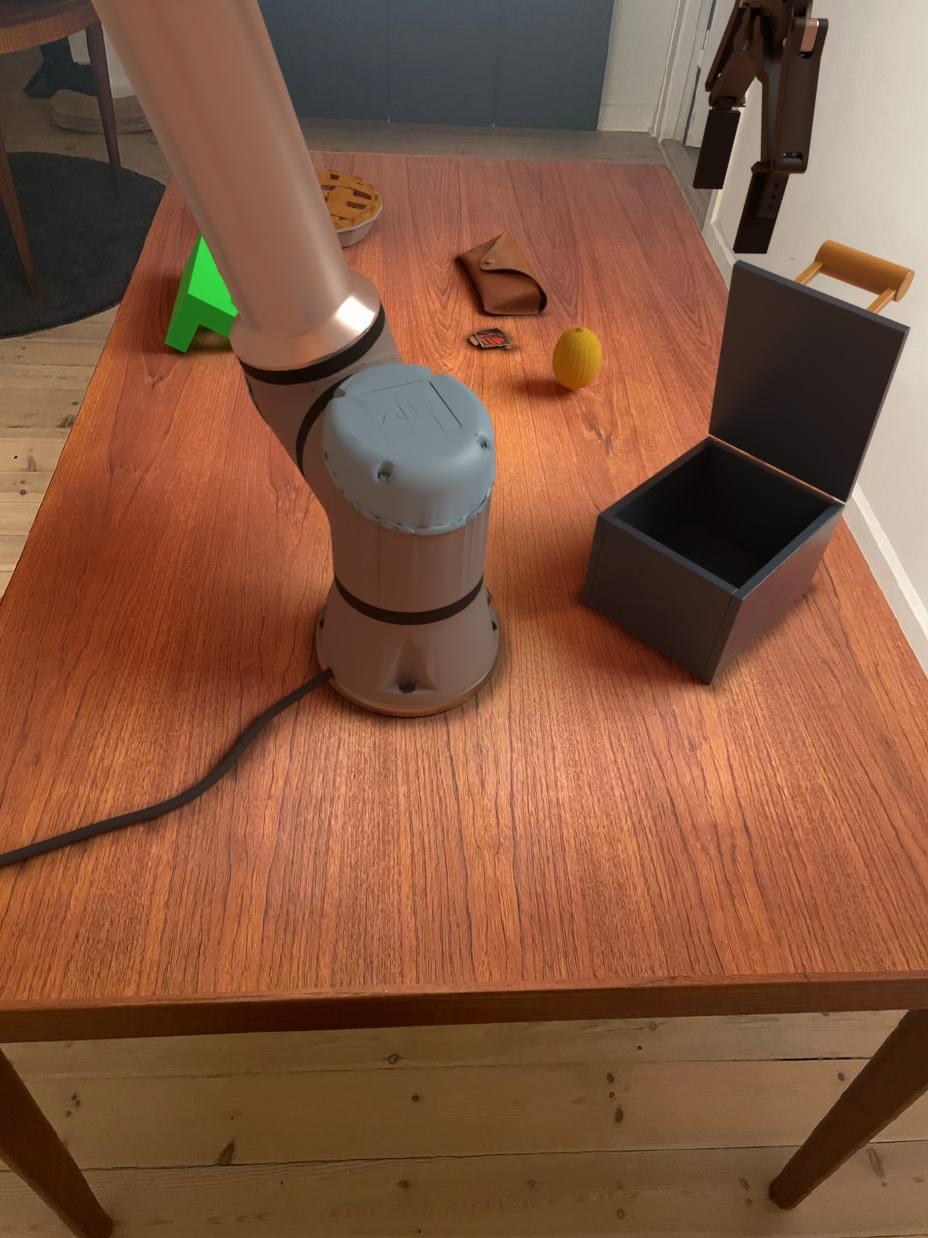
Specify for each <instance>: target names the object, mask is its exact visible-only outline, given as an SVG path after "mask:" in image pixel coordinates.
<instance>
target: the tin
mask: <svg viewBox="0 0 928 1238" xmlns="http://www.w3.org/2000/svg"><path fill="white" fill-rule="evenodd" d="M845 508H846V503H844V502H842V501H840V500H839V501H838V500H837V499H836V498H834V497H832V496H830V495H828V494H826V493H824V492H822V491H820V490H818V489H816V488H814V487H812V486H810V485H808V484H806V483H804V482H802V481H800V480H798V479H796V478H794V477H792V476H790V475H788V474H787V473H785V472H783V471H781V470H779V469H777V468H775V467H773V466H771V465H770V466H769V464H767V463H765V462H763V461H761V460H759V459H757V458H755V457H753V456H751V455H749V454H747V453H745V452H743V451H741V450H739V449H737V448H735V447H733V446H731V445H729V444H727V443H725V442H723V441H721V440H719V439H718V438H716V437H714V436H712V435H708V436H706V437H705V438H704V439H702V440H701V441H699V442H697V444H695V445H694V446H692V447H691V448H690V449H688V450H687V451H685V452H684V453H683V454H681V455H680V456H678V457H677V458H675V459H674V460H673V461H671V462H670V463H669V464H667V465H666V466H665V467H663V468H662V469H660V470H658V471H657V472H656V473H655V474H653V475H652V476H651V477H649V478H647V479H646V480H645V481H643V482H642V483H641V484H639V485H637V486H636V487H635V488H633V489H632V490H631V491H629V492H628V493H627V494H625V495H623V496H622V497H621V498H619V499H618V500H616V501H615V502H614V503H612V504H611V505H609V506H608V507H607V508H605V509H603V511H601V512H600V513H598V514H597V517H596V523H595V527H594V532H593V537H592V542H591V546H590V552H589V556H588V562H587V567H586V572H585V577H584V582H583V586H582V591H581V595H580V601H581V602H583V603H584V604H586V605H588V606H589V607H591V608H592V609H594V610H595V611H597V612H598V613H600V614H601V615H603V616H604V617H606V618H607V619H609V620H610V621H612V622H613V623H615V624H616V625H618V626H619V627H621V628H623V629H624V630H625V631H627V632H628V633H631V634H632V635H633V636H634V637H636V638H637V639H639V640H641V641H642V642H644V643H646V644H647V645H648V646H650V647H652V648H653V649H655V650H656V651H658V652H659V653H661V654H662V655H664V656H665V657H667V658H668V659H670V660H671V661H673V662H675V663H676V664H677V665H679V666H680V667H682V668H684V669H685V670H687V671H688V672H690V673H691V674H692V675H694V676H696V677H697V678H699V679H700V680H701V681H703V682H705V683H706V684H708V685H712V684H713V682H715V681H716V680H717V679H718V678H719V677H720V676H721V675H722V674H723V673H724V672H725V671H726V670H727V669H728V668H729V667H730V666H731V665H732V664H733V663H734V662H735V661H736V660H737V659H738V658H739V657H741V655H743V653H744V652H746V651H747V649H749V648H750V646H752V645H753V644H754V642H756V640H757V639H759V638H760V637H761V636H762V635H763V634H764V633H765V632H766V631H767V630H768V629H769V628H770V627H771V626H773V624H775V622H776V621H777V620H778V619H779V618H780V617H781V616H782V615H783V614H784V613H785V612H786V611H788V610H789V608H791V606H792V605H794V603H795V602H796V601H798V599H800V597H801V596H802V595H804V593H806V592H807V591H808V590H809V589H810V587H811V584H812V582H813V579H814V577H815V575H816V573H817V570H818V568H819V565H820V564H821V562H822V560H823V557H824V555H825V552H826V551H827V548H828V546H829V543H830V542H831V539H832V537H833V535H834V533H835V531H836V528H837V526H838V524H839V521H840V519H841V517H842V515H843V512H844V510H845Z"/></svg>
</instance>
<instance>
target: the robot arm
mask: <svg viewBox="0 0 928 1238" xmlns="http://www.w3.org/2000/svg"><path fill="white" fill-rule="evenodd" d="M90 1H91V4H92V5H93V7H94V10H95V12H96V14H97V16H98V18H99V21H100V23H101V25H102V27H103V30H104V31H105V34H106V35H107V37H108V39H109V41H110V43H111V46H112V48H113V50H114V52H115V54H116V56H117V58H118V60H119V63H120V65H121V67H122V69H123V72H124V74H125V75H126V78H127V80H128V82H129V84H130V86H131V88H132V90H133V92H134V95H135V97H136V99H137V102H138V103H139V105H140V107H141V110H142V111H143V112H142V113H143V114H144V116H145V118H146V120H147V122H148V124H149V126H150V128H151V131H152V133H153V136H154V137H155V139H156V141H157V144H158V146H159V148H160V150H161V152H162V155H163V156H164V158H165V160H166V162H167V164H168V167H169V169H170V171H171V173H172V175H173V178H174V180H175V182H176V184H177V186H178V188H179V190H180V192H181V195H182V197H183V198H184V200H185V203H186V205H187V208H188V209H189V211H190V214H191V216H192V218H193V219H194V222H195V224H196V226H197V228H198V230H199V233H200V232H201V235H202V237H203V239H204V241H205V243H206V245H207V247H208V249H209V251H210V254H211V256H212V258H213V260H214V262H215V264H216V266H217V271H218V273H219V274H220V275H221V277H222V279H223V281H224V283H225V285H226V288H227V290H228V292H229V294H230V296H231V298H232V300H233V302H234V304H235V307H236V309H237V311H238V313H237V314H236V316H235V318H234V320H233V323H232V325H231V329H230V339H229V342H230V346H231V349H232V351H233V352H234V355H235V356H236V358H237V360H238V363H239V366H240V367H241V369H242V373H243V378H244V381H245V385H246V387H247V393H248V396H249V398H250V400H251V403H252V404H253V407H254V408H255V409H256V411H257V413H258V415H259V416H260V417H261V419H262V420H263V421H264V423H266V425H267V426H268V427H269V428H270V429H271V431H272V432H273V434H274V435H275V437H276V438H277V440H278V441H279V443H280V444H281V446H282V447H283V448H284V450H285V452H286V453H287V454H288V456H289V457H290V459H291V461H292V462H293V464H294V465H295V467H296V468H297V470H298V471H299V473H300V474H301V476H302V478H303V479H304V481H305V482H306V484H307V486H309V488H310V490H311V491H312V493H313V495H314V496H315V498H316V499H317V501H318V502H319V504H320V505H321V508H323V510H324V512H325V514H326V518H327V521H328V524H329V529H330V542H331V554H332V568H333V579H332V581H331V584H330V587H329V589H328V593H327V595H326V598H325V603H324V604H323V606H322V608H321V611H320V613H319V615H318V616H319V617H318V621H317V623H316V624H317V625H316V632H315V635H316V636H315V644H316V645H315V646H316V656H317V660H318V664H319V667H320V670H321V672H319V673H318V674H316V675H314V676H313V677H312V678H311V679H309V680H308V681H306V682H305V683H303V684H302V685H300V686H299V687H297V688H296V689H294V690H293V691H291V692H290V693H288V694H287V695H286V696H284V697H282V698H281V699H279V700H278V701H276V702H275V703H274V704H273V705H271V706H270V707H268V709H266V710H264V712H263V713H262V714H261V715H260V716H258V717H257V718H256V720H254V722H252V723H251V725H249V727H248V728H247V729H246V730H245V731H244V733H243V734H242V735H241V736H240V738H239V739H238V740H237V742H236V743H235V744H234V746H233V747H232V748H231V750H230V751H229V752H228V754H227V755H226V756H225V757H223V759H222V760H221V762H220V763H219V764H218V765H217V766H216V768H214V769H213V770H212V771H211V772H210V773H209V774H208V775H206V776H205V777H204V778H203V779H201V780H200V781H198V783H195V784H194V785H193V786H192V787H190V788H188V789H185V791H183V792H181V793H180V794H179V793H178V794H177V795H176V796H173V797H171V798H169V799H167V800H165V801H162V802H159V803H157V804H154V805H151V806H149V807H145V808H142V809H139V810H136V811H132V812H128V813H125V814H121V815H117V816H114V817H111V818H106V819H103V820H100V821H97V822H94V823H91V824H88V825H84V826H82V827H79V828H76V829H72V830H70V831H67V832H64V833H61V834H59V835H56V836H53V837H49V838H47V839H44V840H41V841H38V842H35V843H32V844H29V845H25V846H22V847H20V848H16V849H13V850H11V851H8V852H7V851H6V852H4V853H0V868H3V867H6V866H9V865H12V864H15V863H18V862H21V861H24V860H27V859H30V858H33V857H36V856H39V855H42V854H45V853H48V852H50V851H54V850H57V849H59V848H62V847H66V846H69V845H72V844H75V843H77V842H80V841H83V840H85V839H88V838H91V837H94V836H97V835H101V834H104V833H107V832H110V831H114V830H117V829H120V828H124V827H128V826H131V825H135V824H138V823H142V822H146V821H148V820H151V819H154V818H157V817H160V816H162V815H166V814H167V813H170V812H172V811H175V810H176V809H178V808H181V807H182V806H185V805H186V804H188V803H190V802H191V801H193V800H195V799H197V798H198V797H200V796H202V794H204V793H205V792H207V791H208V790H209V789H211V788H212V787H213V786H214V785H216V784H217V783H218V782H219V781H220V780H221V779H223V777H224V776H225V775H226V774H227V773H228V772H229V771H230V769H232V768H233V766H235V763H236V762H237V761H238V760H239V759H240V756H242V754H243V753H244V752H245V750H247V748H248V746H249V745H250V744H251V742H252V741H253V740H254V738H256V737H257V735H258V734H259V733H260V732H261V731H262V730H263V729H264V728H265V727H266V725H268V724H269V723H270V722H271V721H272V720H273V719H274V718H276V717H277V716H278V715H279V714H281V713H282V712H283V711H284V710H286V709H288V708H289V707H290V706H292V705H293V704H295V703H296V702H298V701H299V700H301V699H302V698H304V697H306V696H307V695H308V694H310V693H311V692H312V691H314V690H316V689H317V688H318V687H320V686H322V685H323V684H325V683H326V682H328V683H329V684H330V686H331V687H332V688H333V689H334V690H335V691H336V692H337V693H338V694H339V695H341V696H342V697H343V698H345V699H346V700H347V701H349V702H350V703H352V704H353V705H356V706H358V707H360V708H362V709H365V710H368V711H371V712H373V713H378V714H381V715H385V716H393V717H405V718H406V717H422V716H429V715H435V714H438V713H442V712H446V711H448V710H451V709H453V708H457V707H458V706H460V705H462V704H464V703H465V702H467V701H469V700H470V699H471V698H473V697H474V696H476V695H477V694H478V693H479V692H480V691H481V690H482V689H483V688H484V687H485V686H486V684H487V683H488V682H489V680H490V679H491V677H492V676H493V673H494V672H495V669H496V667H497V664H498V660H499V652H500V644H501V643H500V642H501V637H500V626H499V621H498V618H497V614H496V613H495V612H496V611H495V609H494V607H493V604H494V606H495V607H496V609H497V604H496V602H495V599H494V597H493V596H492V593H491V592H490V590H489V589H488V586H487V585H486V583H485V580H484V576H485V575H484V574H485V566H486V557H487V556H486V555H487V545H488V537H489V525H490V516H491V505H492V496H493V488H494V486H495V483H496V478H497V460H496V455H497V454H496V449H495V444H496V443H495V442H496V441H495V440H496V439H495V430H494V425H493V421H492V418H491V416H490V413H489V411H488V409H487V407H486V406H485V404H484V403H483V401H482V400H481V399H480V397H479V396H478V395H477V394H476V393H475V392H474V391H473V390H472V389H471V388H470V387H469V386H468V385H466V384H464V382H462V381H460V380H459V379H458V378H456V377H454V376H452V375H450V374H448V373H445V372H442V373H441V372H440V373H439V374H433V373H432V369H431V368H430V367H429V366H425V365H422V364H421V365H419V364H414V363H405V361H404V359H403V357H402V356H401V354H400V352H399V350H398V348H397V345H396V342H395V339H394V336H393V333H392V330H391V327H390V324H389V321H388V317H387V315H386V311H385V309H384V305H383V302H382V299H381V297H380V293H379V290H378V287H377V286H376V284H375V283H374V281H372V280H371V279H370V278H369V277H368V276H366V275H365V274H363V273H361V272H360V271H356V270H353V269H350V268H349V265H348V263H347V259H346V257H345V254H344V251H343V247H342V248H341V245H340V242H339V239H338V236H337V233H336V230H335V227H334V224H333V222H332V219H331V216H330V213H329V210H328V207H327V204H326V201H325V198H324V195H323V192H322V189H321V186H320V184H319V181H318V178H317V175H316V172H315V169H314V168H315V166H314V163H313V161H312V158H311V154H310V151H309V148H308V146H307V143H306V140H305V136H304V134H303V131H302V128H301V125H300V123H299V119H298V117H297V114H296V111H295V108H294V105H293V101H292V98H291V97H290V93H289V91H288V87H287V85H286V81H285V79H284V76H283V72H282V70H281V67H280V64H279V61H278V59H277V55H276V52H275V50H274V47H273V44H272V43H273V42H272V41H271V37H270V35H269V31H268V29H267V26H266V23H265V20H264V17H263V14H262V11H261V8H260V6H259V2H258V0H90ZM813 5H814V0H734V5H733V7H732V10H731V13H730V16H729V18H728V21H727V23H726V26H725V29H724V32H723V35H722V36H721V39H720V42H719V44H718V47H717V50H716V53H715V55H714V58H713V61H712V63H711V66H710V68H709V70H708V74H707V77H706V79H705V81H704V91H705V93H709V95H708V99H707V100H708V101H707V102H708V106H709V107H710V108H711V109H710V108H709V109H708V111H707V117H706V121H705V125H704V130H703V136H702V139H701V144H700V149H699V152H698V154H699V155H698V158H697V163H696V167H695V171H694V176H693V181H692V185H691V186H692V188H693V189H694V190H724V185H725V181H726V177H727V174H728V169H729V165H730V162H731V157H732V153H733V149H734V144H735V140H736V137H737V133H738V127H739V123H740V120H741V117H742V111H740V109H733V108H744V109H745V108H746V107H747V105H746V104H747V100H746V98H747V97H746V93H747V92H748V90H749V88H750V87H751V85H752V84H753V82H754V80H755V78H756V80H757V81H758V82H759V83H761V109H760V110H761V111H760V113H761V115H760V159H759V160H757V161H756V162H754V164H753V165H751V167H750V173H751V177H750V180H749V185H748V187H747V192H746V196H745V200H744V204H743V208H742V212H741V216H740V219H739V223H738V226H737V230H736V235H735V239H734V241H733V245H732V248H731V249H732V252H733V253H734V254H735V255H736V254H737V255H767V254H768V251H769V248H770V244H771V241H772V237H773V234H774V231H775V227H776V223H777V220H778V216H779V213H780V209H781V206H782V202H783V199H784V196H785V192H786V189H787V185H788V182H789V179H790V175H804V174H805V173H806V171H807V170H808V166H809V158H810V150H811V141H812V135H813V134H812V133H813V126H814V117H815V110H816V109H815V108H816V102H817V93H818V85H819V77H820V68H821V62H822V56H823V51H824V47H825V43H826V40H827V39H826V38H827V35H828V32H829V31H828V30H829V26H830V25H829V24H830V22H829V19H828V18H827V17H825V18H824V17H812V11H813ZM492 603H493V604H492Z"/></svg>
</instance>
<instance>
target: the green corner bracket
mask: <svg viewBox="0 0 928 1238" xmlns="http://www.w3.org/2000/svg"><path fill="white" fill-rule="evenodd" d="M237 313H238V311H237V309H236V307H235V304H234V302H233V300H232V298H231V296H230V294H229V292H228V290H227V288H226V285H225V283H224V281H223V279H222V277H221V275H220V273H219V271H218V268H217V266H216V264H215V262H214V260H213V258H212V256H211V254H210V251H209V249H208V247H207V245H206V243H205V241H204V239H203V237H202V235H201V232H200V231H199V233H198V235H197V238H196V240H195V242H194V244H193V246H192V248H191V252H190V254H189V256H188V258H187V261H186V264H185V267H184V269H183V272H182V275H181V279H180V282H179V286H178V290H177V294H176V297H175V302H174V305H173V310H172V313H171V317H170V321H169V325H168V329H167V333H166V336H165V340H164V344H165V345H167V346H170V347H172V348H174V349H175V350H178V351H180V352H182V353H185V354H186V352H187V350H188V348H189V346H190V344H191V342H192V340H193V338H194V336H195V334H196V332H197V330H198V328H199V325H201V326H202V327H205V328H207V329H209V330H211V331H214V332H215V333H218V334H219V335H221V336H224V337H225V338H227V339H229V340H230V329H231V325H232V323H233V320H234V318H235V316H236V314H237Z"/></svg>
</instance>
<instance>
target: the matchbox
mask: <svg viewBox="0 0 928 1238" xmlns="http://www.w3.org/2000/svg"><path fill="white" fill-rule="evenodd" d="M468 339H469V342H471V343H472V344H473V345H474V346H478V345H479V344H481V347H482V348H489V347H496V346H497V347H502V346H505V347H504V349H506V350H507V349H508V350H509V349H513V348H514V346H513V345H512V341H511V340H510V338H509V337H508V336H507V335H506V332H505V331H503V330H501V329H500V328H499V327H492V328H491V327H490V328H484V329H483V328H482V329H481V330H477V331H475V332H474V335H472V336H470V337H469V338H468ZM511 345H512V346H511Z"/></svg>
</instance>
